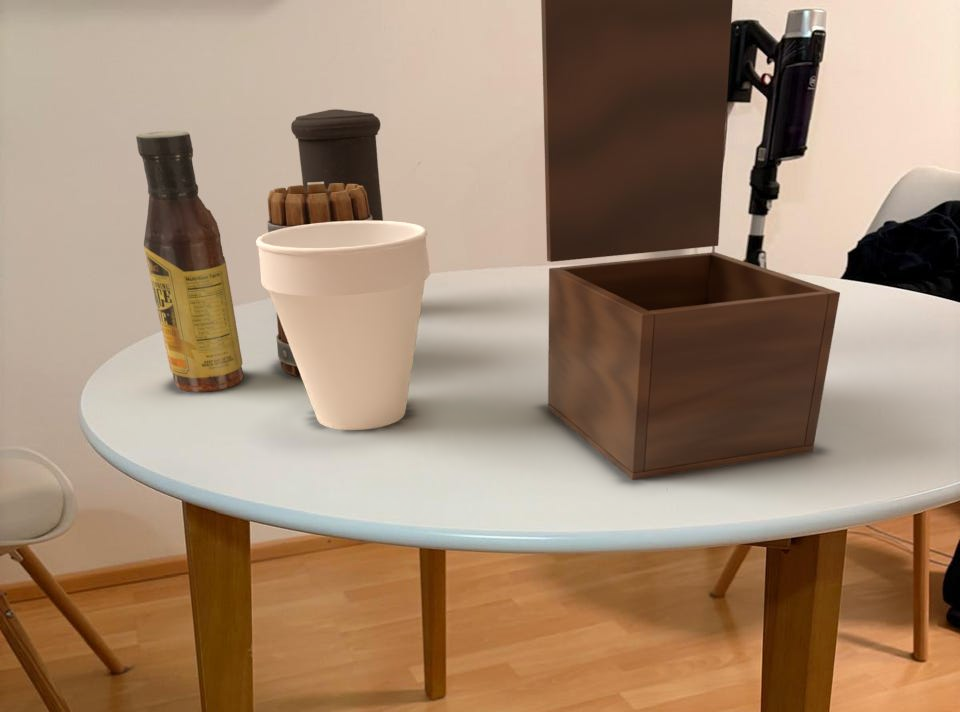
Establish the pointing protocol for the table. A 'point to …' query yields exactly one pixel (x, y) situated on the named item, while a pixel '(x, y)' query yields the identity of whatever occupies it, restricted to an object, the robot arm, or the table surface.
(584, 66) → the lid
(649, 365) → the chest
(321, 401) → the white flower pot
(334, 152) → the container
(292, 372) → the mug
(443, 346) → the table surface
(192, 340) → the sauce bottle
